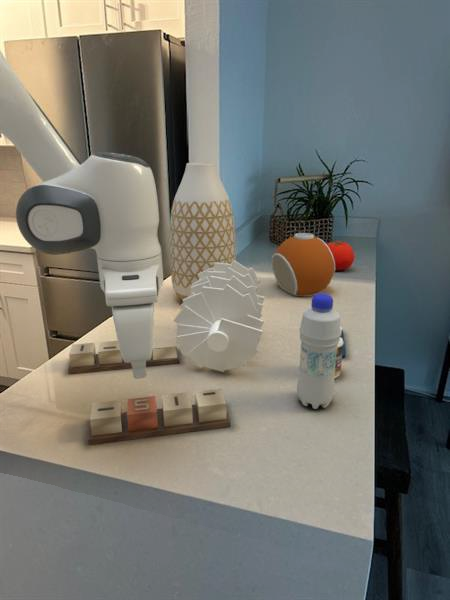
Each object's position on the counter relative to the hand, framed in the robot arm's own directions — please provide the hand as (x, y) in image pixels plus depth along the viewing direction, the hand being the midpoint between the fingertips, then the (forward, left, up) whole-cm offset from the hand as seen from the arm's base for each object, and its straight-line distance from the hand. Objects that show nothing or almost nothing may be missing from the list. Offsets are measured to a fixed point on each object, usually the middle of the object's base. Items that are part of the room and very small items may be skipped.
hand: (139, 360), depth 65 cm
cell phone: (+41, +23, -12) cm, 49 cm away
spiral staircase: (+17, +24, -12) cm, 32 cm away
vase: (+18, +58, -12) cm, 62 cm away
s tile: (0, 0, -11) cm, 11 cm away
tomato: (+69, +79, -12) cm, 106 cm away
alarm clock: (+49, +60, -12) cm, 79 cm away
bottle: (+29, +1, -12) cm, 32 cm away
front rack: (+2, 0, -12) cm, 12 cm away
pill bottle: (+35, +10, -12) cm, 39 cm away
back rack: (-4, +23, -12) cm, 26 cm away
